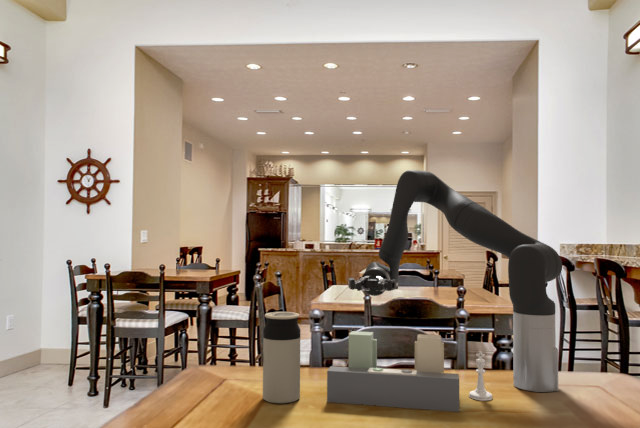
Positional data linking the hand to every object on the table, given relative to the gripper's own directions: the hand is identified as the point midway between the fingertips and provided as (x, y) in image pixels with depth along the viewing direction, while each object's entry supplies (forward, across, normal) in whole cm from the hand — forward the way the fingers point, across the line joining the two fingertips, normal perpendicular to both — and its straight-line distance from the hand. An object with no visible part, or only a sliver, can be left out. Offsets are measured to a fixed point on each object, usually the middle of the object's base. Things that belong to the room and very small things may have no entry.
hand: (368, 286), depth 134 cm
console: (+17, +8, +22) cm, 29 cm away
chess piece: (+12, +26, +22) cm, 36 cm away
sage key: (+14, 0, +20) cm, 24 cm away
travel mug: (+23, -16, +22) cm, 36 cm away
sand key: (+14, +15, +20) cm, 29 cm away
